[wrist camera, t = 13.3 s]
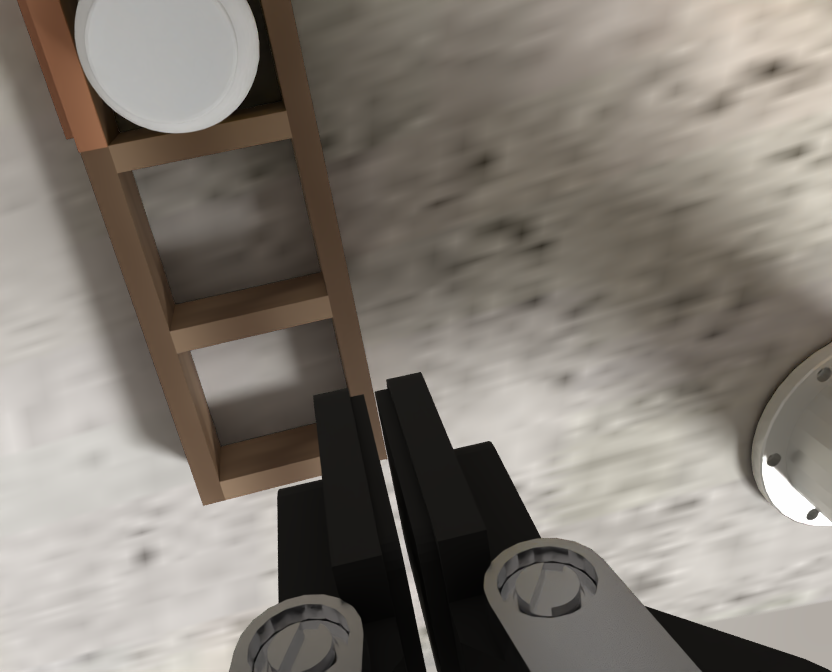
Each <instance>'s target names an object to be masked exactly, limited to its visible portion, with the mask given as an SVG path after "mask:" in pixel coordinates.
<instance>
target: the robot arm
mask: <svg viewBox="0 0 832 672" xmlns="http://www.w3.org/2000/svg"><path fill="white" fill-rule="evenodd" d="M386 381H387V388H388V389H384V390H380V391H375V396H376V401H377V406H378V411H379V416H380V421H381V426H382V431H383V436H384V441H385V446H386V451H387V456H388V461H389V466H390V471H391V476H392V481H393V485H394V490H395V495H396V500H397V505H398V510H399V515H400V520H401V525H402V530H403V535H404V540H405V544H406V549H407V553H408V557H409V561H410V565H411V569H412V573H413V577H414V581H415V585H416V589H417V593H418V597H419V601H420V605H421V609H422V613H423V617H424V621H425V625H426V629H427V633H428V637H429V641H430V645H431V649H432V653H433V657H434V661H435V665H436V668H437V672H831V671H830V670H828V669H826V668H824V667H822V666H819V665H817V664H815V663H812V662H810V661H808V660H806V659H803V658H800V657H797V656H794V655H791V654H788V653H785V652H782V651H779V650H776V649H773V648H770V647H767V646H764V645H761V644H758V643H755V642H752V641H749V640H746V639H743V638H740V637H737V636H734V635H731V634H727V633H724V632H721V631H718V630H716V629H713V628H710V627H707V626H703V625H701V624H698V623H695V622H692V621H689V620H686V619H683V618H679V617H676V616H673V615H670V614H667V613H664V612H661V611H658V610H655V609H652V608H649V607H646V606H644V605H643V604H642V603H641V602H640V601H639V599H638V598H637V597H636V596H635V595H634V594H633V593H632V591H631V590H630V589H629V588H628V587H627V586H626V585H625V583H624V582H623V581H622V580H621V579H620V578H619V577H618V575H617V574H616V573H615V572H614V571H613V570H612V569H611V567H610V566H609V565H608V564H607V563H606V562H605V561H604V559H603V558H601V557H600V556H599V555H598V554H596V553H595V552H594V551H593V550H592V549H590V548H588V547H586V546H584V545H581V544H579V543H577V542H575V541H569V540H564V539H559V538H541V537H540V535H539V533H538V531H537V529H536V527H535V525H534V523H533V521H532V519H531V517H530V515H529V513H528V512H527V510H526V508H525V506H524V504H523V502H522V500H521V498H520V496H519V494H518V492H517V490H516V488H515V486H514V484H513V482H512V480H511V478H510V476H509V474H508V472H507V471H506V469H505V467H504V465H503V463H502V461H501V459H500V457H499V455H498V453H497V451H496V449H495V447H494V446H493V444H492V442H490V441H487V442H483V443H479V444H474V445H470V446H465V447H461V448H457V449H453V448H452V445H451V443H450V440H449V438H448V436H447V433H446V431H445V428H444V426H443V424H442V421H441V419H440V416H439V414H438V412H437V409H436V407H435V404H434V402H433V399H432V397H431V395H430V392H429V390H428V387H427V385H426V383H425V380H424V378H423V375H422V373H421V372H419V373H414V374H410V375H405V376H401V377H396V378H391V379H387V380H386ZM313 399H314V408H315V417H316V427H317V436H318V445H319V454H320V464H321V473H322V480H318V481H313V482H309V483H305V484H300V485H296V486H292V487H287V488H283V489H279V490H278V496H277V507H278V596H279V604H276V605H274V606H272V607H270V608H268V609H267V610H266V611H264V612H263V613H262V614H261V615H259V616H258V617H257V618H255V619H254V620H253V621H252V622H251V623H250V625H249V626H248V627H247V628H246V629H245V631H244V632H243V633H242V634H241V636H240V638H239V641H238V643H237V645H236V648H235V650H234V653H233V657H232V662H231V666H230V670H229V672H426V667H425V663H424V658H423V653H422V648H421V643H420V638H419V633H418V628H417V624H416V619H415V614H414V609H413V604H412V599H411V594H410V589H409V585H408V580H407V575H406V570H405V565H404V561H403V556H402V552H401V547H400V543H399V538H398V534H397V530H396V526H395V522H394V517H393V513H392V509H391V505H390V501H389V497H388V493H387V488H386V484H385V480H384V476H383V472H382V468H381V464H380V459H379V455H378V451H377V447H376V443H375V439H374V434H373V430H372V426H371V422H370V418H369V414H368V410H367V405H366V401H365V397H364V394H362V395H357V396H353V397H350V394H349V390H348V388H346V389H341V390H337V391H332V392H328V393H323V394H318V395H314V396H313ZM751 462H752V469H753V476H754V479H755V481H756V484H757V486H758V489H759V490H760V492H761V493H762V494H763V496H764V497H765V498H766V500H767V501H768V502H769V503H770V504H771V505H772V506H774V507H775V508H776V509H777V510H778V511H779V512H780V513H781V514H783V515H784V516H786V517H788V518H790V519H791V520H793V521H796V522H799V523H802V524H805V525H815V526H829V525H832V342H831V343H830V344H828V345H827V346H825V347H823V348H822V349H820V350H819V351H817V352H815V353H814V354H812V355H811V356H810V357H809V358H807V359H806V360H805V361H804V362H803V363H801V364H800V365H799V366H798V367H797V368H795V369H794V370H793V371H792V373H791V374H790V375H789V376H788V377H787V378H786V379H785V380H784V381H783V383H782V384H781V385H780V386H779V387H778V389H777V390H776V392H775V393H774V395H773V396H772V398H771V399H770V401H769V402H768V404H767V405H766V408H765V410H764V412H763V414H762V416H761V418H760V420H759V422H758V425H757V429H756V432H755V436H754V439H753V445H752V456H751Z"/></svg>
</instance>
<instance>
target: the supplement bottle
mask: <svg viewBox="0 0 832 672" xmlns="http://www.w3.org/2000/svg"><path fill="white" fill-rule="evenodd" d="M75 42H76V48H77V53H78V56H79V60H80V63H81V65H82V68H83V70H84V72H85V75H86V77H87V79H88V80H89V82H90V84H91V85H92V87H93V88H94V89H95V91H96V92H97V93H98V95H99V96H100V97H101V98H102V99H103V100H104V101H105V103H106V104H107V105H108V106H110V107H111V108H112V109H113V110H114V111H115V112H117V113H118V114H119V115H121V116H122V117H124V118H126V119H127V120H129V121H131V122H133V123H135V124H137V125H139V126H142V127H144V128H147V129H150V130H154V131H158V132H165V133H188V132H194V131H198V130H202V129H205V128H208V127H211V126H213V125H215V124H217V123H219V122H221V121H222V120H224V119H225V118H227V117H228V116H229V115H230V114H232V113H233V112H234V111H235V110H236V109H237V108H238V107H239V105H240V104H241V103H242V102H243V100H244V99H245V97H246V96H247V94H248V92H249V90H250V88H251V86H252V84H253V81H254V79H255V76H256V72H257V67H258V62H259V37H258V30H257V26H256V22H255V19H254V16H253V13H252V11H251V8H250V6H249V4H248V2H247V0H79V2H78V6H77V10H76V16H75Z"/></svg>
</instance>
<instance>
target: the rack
mask: <svg viewBox="0 0 832 672" xmlns="http://www.w3.org/2000/svg"><path fill="white" fill-rule="evenodd" d="M17 1H18V4H19V7H20V10H21V13H22V16H23V18H24V21H25V24H26V27H27V30H28V32H29V35H30V38H31V41H32V44H33V47H34V49H35V52H36V55H37V58H38V61H39V64H40V66H41V69H42V72H43V75H44V78H45V81H46V83H47V86H48V89H49V92H50V95H51V98H52V100H53V103H54V106H55V109H56V112H57V114H58V117H59V120H60V123H61V126H62V129H63V131H64V134H65V137H66V139H71V138H74V140H75V143H76V146H77V149H78V152H80V153H81V156H82V159H83V162H84V165H85V168H86V170H87V173H88V176H89V179H90V182H91V185H92V188H93V191H94V193H95V196H96V199H97V202H98V205H99V208H100V211H101V214H102V216H103V219H104V222H105V225H106V228H107V231H108V234H109V236H110V239H111V242H112V245H113V248H114V251H115V254H116V257H117V259H118V262H119V265H120V268H121V271H122V274H123V277H124V280H125V282H126V285H127V288H128V291H129V294H130V297H131V300H132V303H133V305H134V308H135V311H136V314H137V317H138V320H139V323H140V325H141V328H142V331H143V334H144V337H145V340H146V343H147V346H148V348H149V351H150V354H151V357H152V360H153V363H154V366H155V369H156V371H157V374H158V377H159V380H160V383H161V386H162V389H163V391H164V394H165V397H166V400H167V403H168V406H169V409H170V412H171V414H172V417H173V420H174V423H175V426H176V429H177V432H178V435H179V437H180V440H181V443H182V446H183V449H184V452H185V455H186V457H187V460H188V463H189V466H190V469H191V472H192V475H193V478H194V480H195V483H196V486H197V489H198V492H199V495H200V498H201V501H202V503H203V506H204V505H208V504H212V503H216V502H220V501H224V500H228V499H232V498H235V497H239V496H243V495H247V494H251V493H255V492H259V491H263V490H267V489H270V488H274V487H278V486H282V485H286V484H290V483H294V482H298V481H302V480H306V479H309V478H313V477H317V476H321V475H322V473H321V464H320V454H319V445H318V436H317V427H316V423H314V424H310V425H306V426H302V427H298V428H294V429H290V430H286V431H282V432H278V433H274V434H270V435H266V436H261V437H257V438H253V439H249V440H245V441H241V442H237V443H233V444H229V445H225V446H221V445H220V442H219V439H218V436H217V433H216V430H215V427H214V423H213V420H212V417H211V414H210V411H209V408H208V405H207V402H206V399H205V396H204V392H203V389H202V386H201V383H200V380H199V377H198V374H197V371H196V368H195V365H194V361H193V358H192V355H191V352H190V350H194V349H199V348H203V347H207V346H212V345H216V344H220V343H225V342H229V341H233V340H238V339H242V338H246V337H251V336H255V335H259V334H264V333H268V332H272V331H277V330H281V329H285V328H289V327H294V326H298V325H302V324H307V323H311V322H315V321H320V320H324V319H328V318H332V322H333V327H334V331H335V335H336V340H337V344H338V349H339V353H340V357H341V362H342V366H343V371H344V375H345V379H346V384H347V388H348V390H349V394H350V397H353V396H357V395H362V394H364V397H365V401H366V405H367V410H368V414H369V418H370V422H371V426H372V430H373V434H374V439H375V443H376V447H377V451H378V455H379V459H380V460H384V459H387V455H386V450H385V445H384V440H383V436H382V431H381V426H380V421H379V417H378V412H377V407H376V402H375V398H374V393H373V388H372V383H371V379H370V374H369V369H368V364H367V360H366V355H365V350H364V346H363V341H362V336H361V331H360V327H359V322H358V317H357V312H356V308H355V303H354V298H353V293H352V289H351V284H350V279H349V274H348V270H347V265H346V260H345V255H344V251H343V246H342V241H341V236H340V232H339V227H338V222H337V218H336V213H335V208H334V203H333V199H332V194H331V189H330V184H329V180H328V175H327V170H326V165H325V161H324V156H323V151H322V146H321V142H320V137H319V132H318V127H317V123H316V118H315V113H314V108H313V104H312V99H311V94H310V89H309V85H308V80H307V75H306V71H305V66H304V61H303V56H302V52H301V47H300V42H299V37H298V33H297V28H296V23H295V18H294V14H293V9H292V4H291V0H259V1H260V5H261V10H262V14H263V19H264V23H265V27H266V32H267V36H268V41H269V45H270V49H271V54H272V58H273V63H274V67H275V71H276V76H277V80H278V85H279V89H280V93H281V98H282V101H279V102H274V103H269V104H264V105H259V106H254V107H248V108H243V109H238V110H235V111H234V112H233V113H232V114H230V115H229V116H228V117H227V118H225V119H224V120H222V121H221V122H219V123H217V124H215V125H213V126H211V127H208V128H205V129H202V130H198V131H194V132H188V133H165V132H158V131H154V130H150V129H147V128H141V129H136V130H130V131H125V132H119V129H118V126H117V123H116V120H115V116H114V113H113V110H112V108H111V107H110V106H108V105H107V104H106V103H105V101H104V100H103V99H102V98H101V97H100V96H99V95H98V93H97V92H96V91H95V89H94V88H93V87H92V85H91V84H90V82H89V80H88V79H87V77H86V75H85V72H84V70H83V68H82V65H81V63H80V60H79V56H78V53H77V48H76V42H75V16H76V10H77V6H78V2H77V0H17ZM290 138H291V142H292V146H293V151H294V155H295V159H296V164H297V168H298V173H299V177H300V181H301V186H302V190H303V195H304V199H305V203H306V208H307V212H308V217H309V221H310V225H311V230H312V234H313V239H314V243H315V247H316V252H317V256H318V261H319V265H320V269H321V272H319V273H315V274H310V275H306V276H301V277H297V278H292V279H288V280H283V281H279V282H275V283H270V284H266V285H261V286H257V287H252V288H248V289H243V290H239V291H234V292H230V293H225V294H221V295H216V296H212V297H207V298H203V299H199V300H194V301H190V302H185V303H181V304H176V305H175V303H174V299H173V296H172V293H171V290H170V287H169V284H168V281H167V278H166V275H165V272H164V268H163V265H162V262H161V259H160V256H159V253H158V250H157V247H156V244H155V240H154V237H153V234H152V231H151V228H150V225H149V222H148V219H147V216H146V213H145V209H144V206H143V203H142V200H141V197H140V194H139V191H138V188H137V185H136V182H135V178H134V175H133V172H132V170H136V169H141V168H146V167H151V166H156V165H161V164H166V163H171V162H176V161H181V160H186V159H191V158H196V157H200V156H205V155H210V154H215V153H220V152H225V151H230V150H235V149H240V148H245V147H250V146H255V145H260V144H265V143H270V142H275V141H280V140H285V139H290Z"/></svg>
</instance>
